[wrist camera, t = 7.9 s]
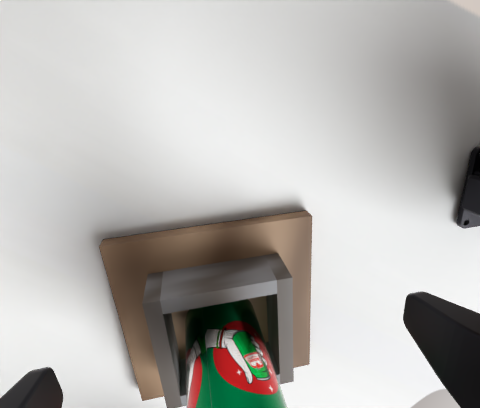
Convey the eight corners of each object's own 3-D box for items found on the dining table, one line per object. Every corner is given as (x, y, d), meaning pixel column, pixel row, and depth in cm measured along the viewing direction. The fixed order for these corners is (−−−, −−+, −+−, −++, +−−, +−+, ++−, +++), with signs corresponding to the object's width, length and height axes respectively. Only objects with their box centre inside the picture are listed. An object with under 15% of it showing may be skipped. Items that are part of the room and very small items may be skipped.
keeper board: (306, 210, 21) (332, 235, 18) (304, 354, 26) (324, 397, 23) (103, 239, 19) (84, 274, 16) (143, 389, 24) (137, 441, 21)
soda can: (209, 351, 23) (236, 590, 12) (170, 310, 21) (159, 553, 10) (264, 317, 23) (343, 528, 12) (230, 273, 21) (286, 478, 10)
